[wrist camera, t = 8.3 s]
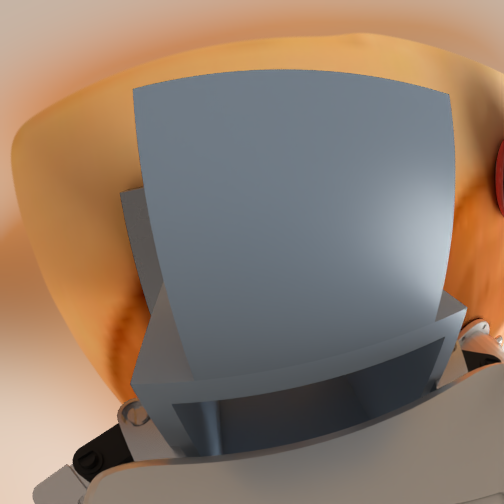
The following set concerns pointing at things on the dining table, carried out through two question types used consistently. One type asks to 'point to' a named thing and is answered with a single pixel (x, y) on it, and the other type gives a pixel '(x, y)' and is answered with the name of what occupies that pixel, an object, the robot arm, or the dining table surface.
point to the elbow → (293, 253)
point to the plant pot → (500, 178)
